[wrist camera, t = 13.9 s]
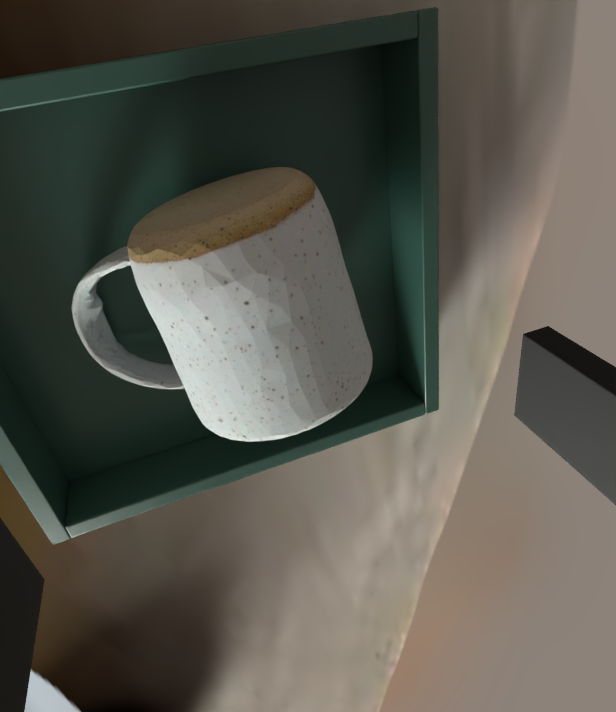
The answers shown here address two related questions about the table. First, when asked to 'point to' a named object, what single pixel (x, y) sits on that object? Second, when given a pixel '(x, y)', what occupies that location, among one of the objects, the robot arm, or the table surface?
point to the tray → (174, 178)
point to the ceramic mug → (241, 306)
